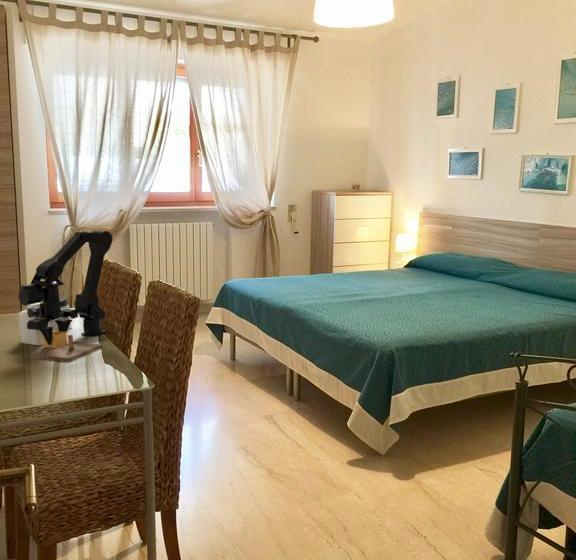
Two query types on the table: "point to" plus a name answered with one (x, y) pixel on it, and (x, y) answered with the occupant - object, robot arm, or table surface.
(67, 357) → the peg board
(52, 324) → the jar
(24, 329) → the white flat bottle
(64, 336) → the orange square block
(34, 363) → the table surface
